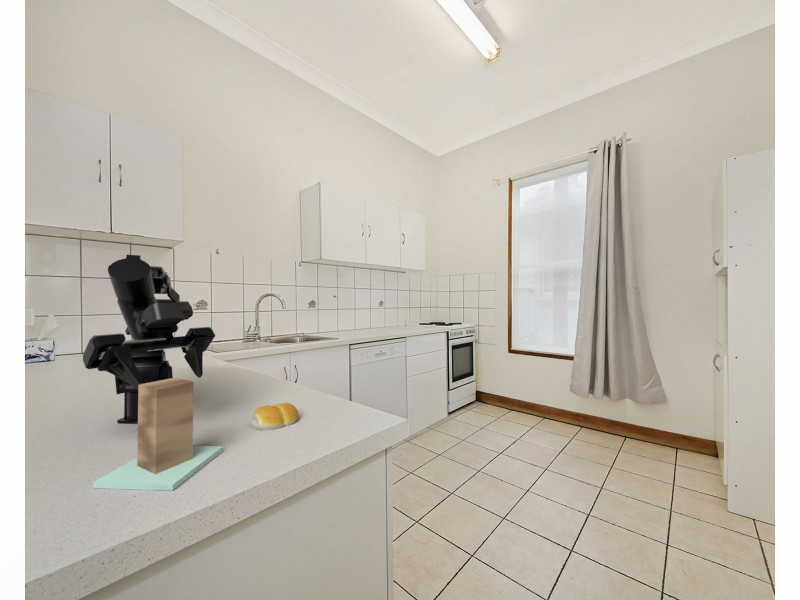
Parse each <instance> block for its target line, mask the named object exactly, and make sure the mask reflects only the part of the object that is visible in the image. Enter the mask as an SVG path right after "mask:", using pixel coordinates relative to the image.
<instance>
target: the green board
mask: <svg viewBox="0 0 800 600" xmlns="http://www.w3.org/2000/svg"><path fill="white" fill-rule="evenodd" d="M223 449H224V446H220V445H219V446H218V445H217V446H216V445H215V446H214V445H213V446H212V445H193V457H192V459H191V460H189V461H186V462H184V463H181V464H179V465H177V466H174V467H172V468H170V469H167V470H165V471H163V472H160V473H158V474H153V473H151V472H149V471H147V470H145V469H143V468H141V467H139V466H137V457H134V458H133V459H132V460H130V461H128V462H126V463H125V464H123V465H121V466H119V467H118V468H115V469H114V470H112V471H110V472H109V473H107V474H105V475H103V476H101V477H100V478H99V479H97V480H95V481H93V483H92V485H93V486H92V488H93V489H104V490H105V489H108V490H111V489H112V490H115V489H116V490H135V491H137V490H139V491H142V490H144V491H166V492H167V491H169V492H170V491H171V492H172V491H174V490H175V489H177V488H178V487H179V486H180V485H182V484H184V482H185V481H187V480H189V479H190V478H191V477H192V476H193V475H195V474H196V473H197V472H198V471H200V470H201V469H203V467H205V466H206V465H207V464H209V463H210V462H211V461H212V460H214V459H215V458H216V457H218V456H219V455H221V453H222V452H223V451H224V450H223ZM218 454H219V455H218Z"/></svg>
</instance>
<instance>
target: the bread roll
mask: <svg viewBox="0 0 800 600" xmlns="http://www.w3.org/2000/svg"><path fill="white" fill-rule="evenodd" d="M298 418H299V412H298V409H297V407H296V406H295V405H293V404H292V403H289V402H282V403H277V404H272V405H270V404H269V405H264V406H260V407H258V408H257V409H255V411H253V413H252V418H251V422H250V423H251V425H252V426H253V428H255V429H257V430H259V431H267V430H268V431H271V430H277V429H280V428H283V427H284V426H285V427H286V426H287V425H288V426H291V425H293V424H295V423H296V421H297V420H298ZM290 424H291V425H290Z"/></svg>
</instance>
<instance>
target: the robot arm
mask: <svg viewBox="0 0 800 600" xmlns="http://www.w3.org/2000/svg"><path fill="white" fill-rule="evenodd" d="M107 274H108V276H109V279H110V282H111V285H112V288H113V292H114V294H115V296H116V299H117V305H118V307H119V310H120V312H121V315H122V317H123V319H124V323H125V324H126V328H125V330H124V331H125V334H126V335H127V336H130V337H131V339H130V340H129V339H128V340H126V337H125V334H124V333H108V334H96V335H93V336H92V337H91V338H89V340H88V343H87V345H86V347H85V350H84V352H83V354H82V361H83V362H82V363H83V364H84V367H85V369H87V370H93V369H94V370H95V369H97V371H99V372H107V373H109V374H111V375H113V376H114V380H115V381H114V382H115V392H116V395H121V394H124V396H123V398H124V402H123V404H124V406H123V409H124V410H123V413H124V414H123V417H122V418H119V419H117V420H116V423H117V424H138V386H139V384H145V383H150V382H155V381H160V380H165V379H171V378H174V375H173V374H174V373H173V366H171V365H170V363H169V360H167V359H166V351H165V350H169V349H178V348H181V350H182V353H184V354H185V355H184V356H183V358H184V360H185V361H186V362H187V365H188V366H189V367H190V369H191V371H192V373H193V374H194V375H195V376H196V377H197V378H198V379H200V378H202V376H203V374H204V373H203V371H204V370H203V367H204V366H203V365H204V364H203V357H204V356H203V354H204V352H206V351H207V349H208V348H209V346H210V345H211V343H212V342H213V340H214V339H215V338H216V334H215V332H214V330H213V328H212V327H210V326H200V327H190V328H189V329H188V330H187V332H186V333H185V335H184V336H183V335H182V336H174V334H173V333H177V331H178V330H179V326H178V324H179V323H181V322H182V321H183V322H184V321H185V320H186V321H187V320H189V319H190V318H191V317H193V315H194V310H193V307H192V305H191V304H190V302H189V301H181V296H180V294H179V293H178V292H177V291H176V290H175V289H174V288H173V287H172V282H171V277H170V276H169V274H168V272H167V271H165V269H164V267H162V266H153V265H150V264H149V263H148V262H147V261H144V260H142V258H141V255H137V254H126V256H125V258H121V259H118V260H115V261H114V262H112V263H111V264H110V265H108V267H107ZM155 295H167V297H168V298H161V299H160V298H156V296H155Z"/></svg>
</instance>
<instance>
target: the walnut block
mask: <svg viewBox="0 0 800 600" xmlns="http://www.w3.org/2000/svg"><path fill="white" fill-rule="evenodd" d="M194 382H195V381H193V380H189V379H184V378H179V377H173V378H171V379H165V380H160V381H155V382H150V383H145V384H139V386H138V423H137V451H136V453H137V456H136V458H137V466H139V467H141V468H143V469H145V470H147V471H149V472H151V473H153V474H158V473H160V472H163V471H165V470H167V469H170V468H172V467H174V466H177V465H179V464H181V463H184V462H186V461H189V460H191V459H192V457H193V446H194V444H193V443H194V440H193V439H194V436H193V435H194Z"/></svg>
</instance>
